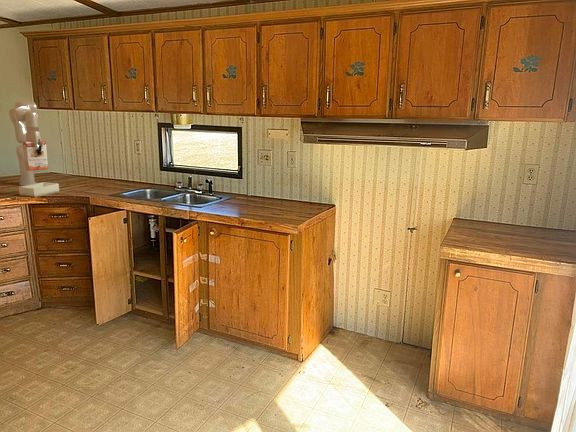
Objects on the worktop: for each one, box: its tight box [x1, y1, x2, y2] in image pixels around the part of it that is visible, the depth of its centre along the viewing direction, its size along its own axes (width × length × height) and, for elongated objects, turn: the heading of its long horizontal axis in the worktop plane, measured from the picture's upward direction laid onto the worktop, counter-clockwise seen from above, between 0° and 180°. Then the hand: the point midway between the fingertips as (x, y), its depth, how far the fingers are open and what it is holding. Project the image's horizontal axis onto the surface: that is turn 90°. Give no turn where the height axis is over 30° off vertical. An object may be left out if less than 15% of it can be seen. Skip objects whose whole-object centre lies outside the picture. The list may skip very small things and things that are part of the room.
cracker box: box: [21, 140, 49, 171], centre depth 313 cm, size 14×6×21 cm, turn 146°
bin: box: [18, 181, 60, 198], centre depth 319 cm, size 14×22×6 cm, turn 162°
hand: (35, 154), depth 313 cm, fingers closed on cracker box, 7 cm apart
